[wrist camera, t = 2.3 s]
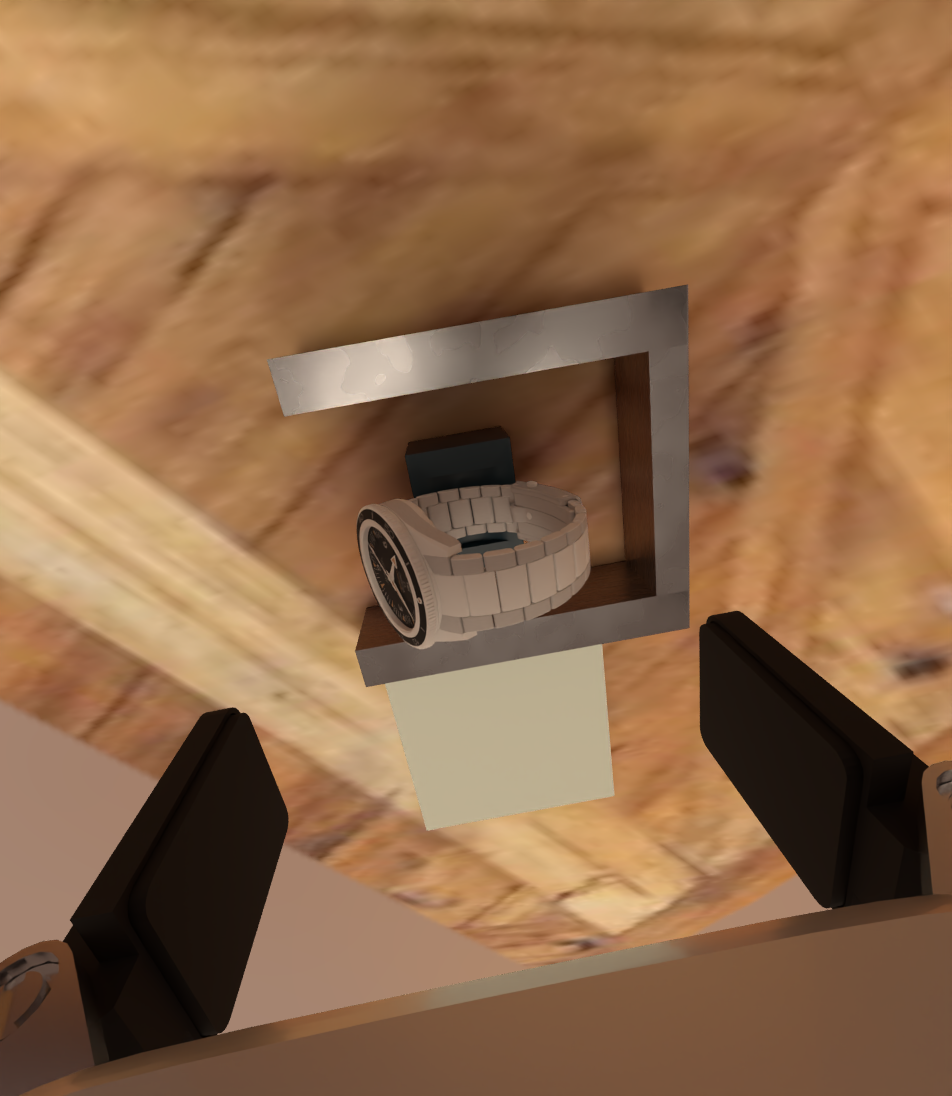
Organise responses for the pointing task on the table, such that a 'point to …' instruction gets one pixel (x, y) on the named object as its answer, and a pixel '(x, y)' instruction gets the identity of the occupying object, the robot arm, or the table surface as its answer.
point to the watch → (471, 542)
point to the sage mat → (506, 736)
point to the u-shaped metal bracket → (644, 445)
